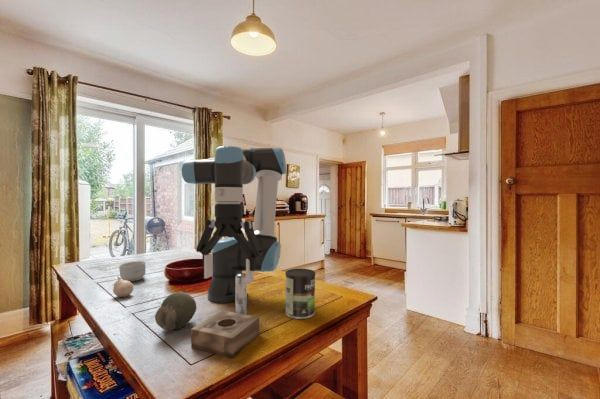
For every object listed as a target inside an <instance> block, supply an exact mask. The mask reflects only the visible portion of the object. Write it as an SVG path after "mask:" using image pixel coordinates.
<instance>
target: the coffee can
mask: <svg viewBox="0 0 600 399" xmlns="http://www.w3.org/2000/svg"><path fill="white" fill-rule="evenodd" d="M315 304H316V272H315V270H312V269H309V268H293V269H291V268H290V269H287V270H286V271H285V315H286V316H287V317H288V318H291V319H295V320H306V319H310V318H312V317H314V316H315V315H316V314H315V313H316V311H315V310H316V308H315V306H316V305H315Z"/></svg>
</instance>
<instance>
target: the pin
mask: <svg viewBox="0 0 600 399" xmlns="http://www.w3.org/2000/svg"><path fill="white" fill-rule="evenodd" d="M247 285H248V284H246V272H245V273H244V272H242V273H239V274H236V277H235V301H234V302H235V307H234V308H235V312H234V313H239V314H245V315H248V314H247V313H248V308H247V307H248V302H247V300H248V299H247V298H248V296H247V294H248V293H247V292H248V289H247V288H248V286H247Z"/></svg>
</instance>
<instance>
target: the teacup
mask: <svg viewBox="0 0 600 399" xmlns="http://www.w3.org/2000/svg"><path fill="white" fill-rule="evenodd" d="M118 268H119V277H120V278H121V279H122V280H128V281H131V282H135V280H136V281H139V280H141V279H142V278H143V277H144V276H145V275H146V261H143V260H137V261H129V262H124V263H122V264H119V265H118Z"/></svg>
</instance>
